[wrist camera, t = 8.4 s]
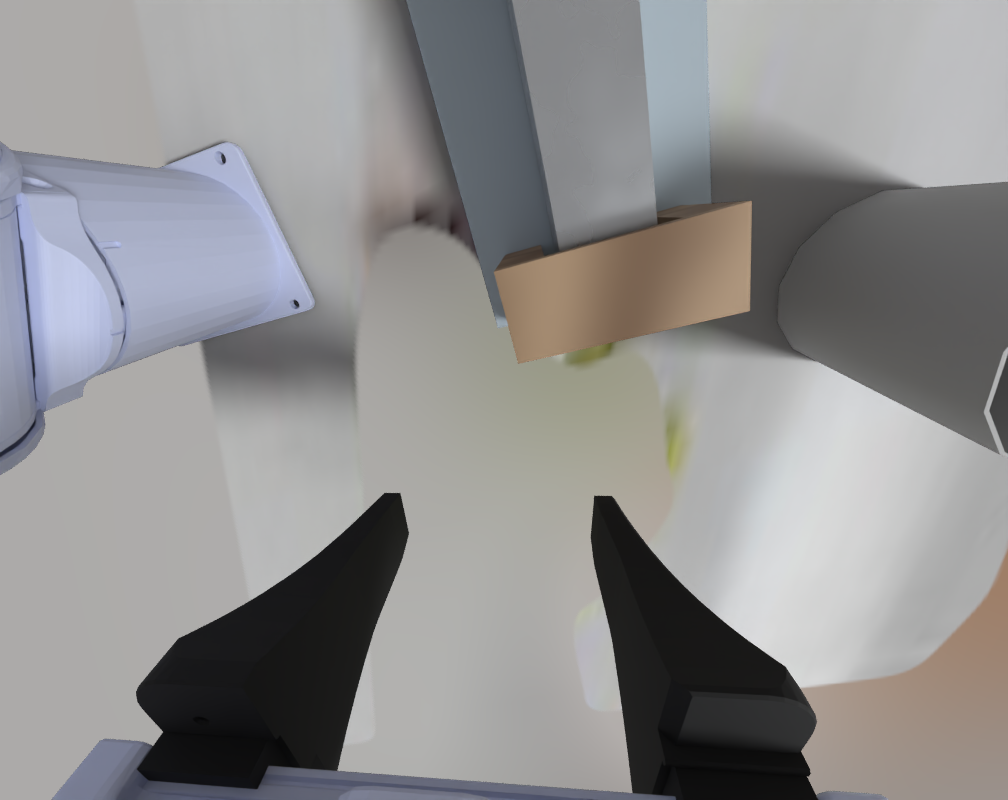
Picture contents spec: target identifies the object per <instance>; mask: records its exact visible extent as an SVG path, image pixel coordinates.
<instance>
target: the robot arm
mask: <svg viewBox="0 0 1008 800" xmlns="http://www.w3.org/2000/svg"><path fill="white" fill-rule="evenodd" d="M222 154H224V155H225V158H226V163H225V164H224V163H223V162H222V159H221V155H222ZM294 299H295V300H296V301H298V303H299V307H297V306H296V305H295V304H294ZM314 305H315V301H314V298H313V296H312V294H311V292H310V290H309V287H308V285H307V283H306V281H305V279H304V277H303V275H302V273H301V271H300V269H299V267H298V265H297V263H296V260H295V258H294V256H293V254H292V252H291V250H290V248H289V246H288V244H287V242H286V240H285V238H284V236H283V233H282V231H281V229H280V227H279V225H278V223H277V221H276V219H275V217H274V215H273V213H272V211H271V209H270V206H269V204H268V202H267V200H266V198H265V196H264V194H263V192H262V190H261V188H260V186H259V184H258V182H257V179H256V177H255V175H254V173H253V171H252V169H251V167H250V165H249V163H248V161H247V159H246V157H245V155H244V152H243V151H242V149H241V148H240V147H239V146H238V145H236V144H233V143H230V142H224V143H221V144H219V145H216V146H213V147H211V148H208V149H206V150H203V151H201V152H198V153H196V154H193V155H191V156H188V157H185V158H183V159H180V160H178V161H175V162H173V163H170V164H168V165H165V166H162V167H160V168H149V167H141V166H133V165H125V164H117V163H109V162H101V161H93V160H85V159H77V158H68V157H61V156H53V155H45V154H37V153H29V152H21V151H13V150H10V149H9V148H8V147H7V146H6V145H4V144H3V143H1V142H0V475H1V474H3V473H5V472H6V471H8V470H10V469H12V468H13V467H14V466H15V465H17V464H18V463H20V462H21V461H22V460H24V459H25V458H26V457H27V456H28V455H29V454H30V453H31V452H32V451H33V450H34V449H35V448H36V446H37V445H38V443H39V441H40V440H41V438H42V436H43V434H44V429H45V419H44V412H45V411H47V410H50V409H52V408H55V407H57V406H59V405H62V404H64V403H67V402H70V401H72V400H74V399H77V398H80V397H82V396H83V388H84V386H85V384H86V382H87V381H88V380H89V379H91V378H93V377H95V376H97V375H100V374H103V373H105V372H108V371H111V370H113V369H116V368H119V367H122V366H124V365H127V364H130V363H132V362H135V361H138V360H141V359H143V358H146V357H148V356H151V355H154V354H157V353H160V352H162V351H165V350H168V349H170V348H173V347H176V346H184V345H188V344H191V343H194V342H198V341H202V340H205V339H209V338H213V337H216V336H220V335H223V334H227V333H230V332H234V331H237V330H241V329H244V328H248V327H251V326H255V325H259V324H262V323H266V322H269V321H273V320H276V319H280V318H283V317H287V316H290V315H294V314H297V313H301V312H304V311H308V310H310V309H312V308H313V307H314ZM591 530H592V531H591V543H592V551H593V558H594V565H595V570H596V574H597V578H598V582H599V586H600V590H601V595H602V599H603V603H604V607H605V611H606V615H607V619H608V624H609V628H610V633H611V637H612V643H613V649H614V656H615V662H616V669H617V676H618V683H619V690H620V697H621V704H622V711H623V718H624V726H625V734H626V742H627V749H628V758H629V766H630V775H631V783H632V791H633V793H624V792H610V791H597V790H583V789H570V788H557V787H542V786H530V785H516V784H504V783H491V782H477V781H462V780H451V779H437V778H424V777H411V776H398V775H384V774H371V773H357V772H345V771H337V769H338V765H339V760H340V756H341V752H342V748H343V743H344V739H345V735H346V730H347V726H348V722H349V718H350V714H351V711H352V707H353V703H354V699H355V695H356V691H357V687H358V684H359V680H360V677H361V673H362V669H363V666H364V662H365V659H366V655H367V652H368V649H369V645H370V642H371V639H372V635H373V632H374V629H375V626H376V624H377V621H378V618H379V616H380V613H381V611H382V608H383V606H384V603H385V601H386V598H387V596H388V593H389V591H390V588H391V586H392V583H393V581H394V579H395V576H396V574H397V571H398V568H399V566H400V563H401V561H402V558H403V554H404V550H405V546H406V543H407V539H408V535H409V532H408V528H407V522H406V517H405V513H404V508H403V503H402V499H401V495H400V493H384V494H383V495H382V496H381V497H380V498H379V499H378V500H377V501H376V502H375V503H374V504H373V505H372V506H371V507H370V508H369V509H368V510H366V512H364V513H363V514H362V515H361V516H360V517H359V518H358V519H357V520H356V521H355V522H354V523H353V524H352V525H351V526H350V527H349V528H347V529H346V530H345V531H344V532H343V533H342V534H341V535H340V536H339V537H337V538H336V539H335V540H334V541H333V542H332V543H331V544H329V545H328V546H327V547H326V548H325V549H324V550H322V551H321V552H320V553H319V554H318V555H316V556H315V557H314V558H312V559H311V560H310V561H309V562H307V563H306V564H305V565H303V566H302V567H301V568H299V569H298V570H297V571H295V572H294V573H292V574H291V575H290V576H288V577H287V578H285V579H284V580H282V581H281V582H279V583H277V584H276V585H274V586H273V587H271V588H270V589H268V590H267V591H265V592H264V593H262V594H261V595H259V596H257V597H256V598H254V599H252V600H251V601H249V602H247V603H246V604H244V605H242V606H240V607H239V608H237V609H235V610H233V611H232V612H230V613H228V614H226V615H224V616H222V617H221V618H219V619H217V620H215V621H213V622H211V623H209V624H207V625H205V626H203V627H201V628H199V629H197V630H195V631H193V632H191V633H189V634H187V635H185V636H183V637H181V638H179V639H178V640H177V641H176V642H175V643H174V645H173V646H172V647H171V648H170V649H169V650H168V652H167V653H166V654H165V655H164V656H163V658H162V659H161V660H160V661H159V663H158V664H157V665H156V666H155V667H154V668H153V670H152V671H151V672H150V673H149V674H148V676H147V677H146V678H145V679H144V681H143V682H142V683H141V684H140V685H139V687H138V689H137V691H136V696H137V701H138V703H139V705H140V706H141V707H142V709H143V710H144V711H145V712H146V713H147V714H148V716H149V717H150V718H151V719H152V720H153V721H154V722H155V723H156V724H157V725H158V726H159V727H160V729H161V730H162V731H163V733H162V735H161V736H160V737H159V739H158V740H157V742H156V743H155V745H154V746H152V745H150V744H147V743H145V742H140V741H130V740H116V739H103V740H101V741H99V743H98V744H97V745H96V746H95V748H93V750H92V751H91V753H89V755H88V756H87V757H86V758H85V759H84V761H83V762H82V763H81V764H80V766H79V767H78V768H77V769H76V770H75V772H74V773H73V774H72V775H71V777H70V778H69V779H68V780H67V782H66V783H65V784H64V785H63V786H62V787H61V789H60V790H59V791H58V792H57V794H56V795H55V796H54V797H53V798H52V800H888V799H887V798H886V797H884V796H882V795H880V794H867V793H854V792H840V791H827V792H822V793H819V794H817V795H816V794H815V792H814V790H813V788H812V786H811V784H810V782H809V780H808V778H807V776H809V775H810V774H811V773H810V768H809V766H808V764H807V763H806V761H805V758H804V756H803V755H802V753H801V750H802V748H803V747H804V746H805V744H806V743H807V741H808V740H809V738H810V737H811V735H812V734H813V732H814V729H815V726H816V723H817V721H816V716H815V713H814V711H813V710H812V708H811V706H810V704H809V703H808V701H807V699H806V697H805V696H804V694H803V692H802V691H801V689H800V688H799V686H798V684H797V683H796V682H795V680H794V679H793V677H792V676H791V674H790V673H789V672H788V670H787V668H786V667H785V666H783V665H782V664H781V663H779V662H778V661H776V660H775V659H773V658H772V657H771V656H769V655H768V654H766V653H765V652H763V651H762V650H761V649H759V648H758V647H756V646H755V645H753V644H752V643H751V642H749V641H748V640H747V639H745V638H744V637H743V636H741V635H740V634H739V633H737V632H736V631H735V630H734V629H732V628H731V627H730V626H728V625H727V624H726V623H725V622H723V621H722V620H721V619H720V618H719V617H718V616H716V615H715V614H714V613H713V612H712V611H711V610H710V609H708V608H707V607H706V606H705V605H704V604H703V603H701V602H700V601H699V600H698V599H697V598H696V597H695V596H694V595H693V594H692V593H691V592H690V591H689V590H688V589H686V588H685V587H684V586H683V585H682V584H681V583H680V582H679V580H678V579H677V578H676V577H675V576H674V575H673V574H672V573H671V572H670V571H669V570H668V569H667V568H666V567H665V566H664V565H663V563H662V562H661V561H660V560H659V559H658V558H657V556H656V555H655V554H654V553H653V552H652V550H651V549H650V548H649V547H648V546H647V544H646V543H645V542H644V540H643V539H642V538H641V537H640V535H639V534H638V533H637V531H636V530H635V529H634V527H633V526H632V525H631V523H630V522H629V520H628V519H627V517H626V516H625V515H624V513H623V512H622V510H621V509H620V507H619V505H618V504H617V502H616V501H615V499H614V498H613V497H612V496H594V506H593V517H592V529H591Z"/></svg>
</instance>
